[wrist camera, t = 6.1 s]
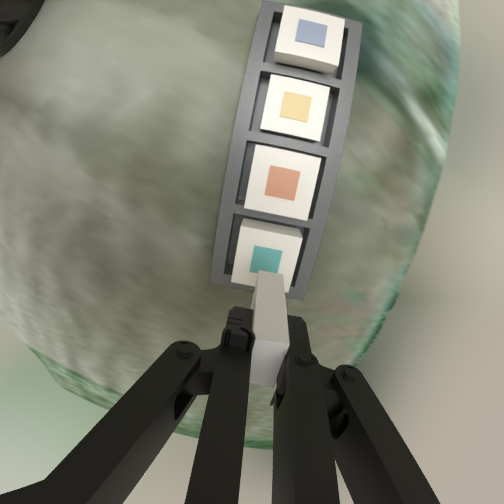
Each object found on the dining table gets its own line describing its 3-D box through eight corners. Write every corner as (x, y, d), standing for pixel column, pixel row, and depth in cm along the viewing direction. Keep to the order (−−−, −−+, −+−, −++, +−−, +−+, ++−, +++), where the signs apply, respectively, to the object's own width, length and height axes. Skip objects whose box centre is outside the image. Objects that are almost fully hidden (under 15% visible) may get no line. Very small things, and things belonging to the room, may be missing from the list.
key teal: (234, 268, 25) (230, 282, 22) (243, 217, 23) (240, 226, 20) (286, 278, 25) (288, 293, 22) (298, 228, 23) (302, 238, 20)
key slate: (273, 61, 18) (274, 50, 15) (283, 18, 16) (284, 4, 14) (330, 74, 18) (338, 65, 15) (337, 31, 16) (345, 18, 14)
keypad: (214, 270, 28) (209, 282, 25) (263, 13, 18) (262, 0, 15) (300, 286, 28) (303, 300, 25) (353, 34, 18) (362, 23, 15)
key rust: (246, 201, 22) (243, 208, 20) (257, 145, 21) (255, 144, 18) (302, 213, 22) (307, 221, 20) (315, 158, 21) (321, 158, 18)
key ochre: (261, 131, 22) (260, 128, 19) (270, 82, 20) (271, 73, 18) (314, 142, 22) (320, 141, 20) (323, 93, 20) (330, 87, 18)
